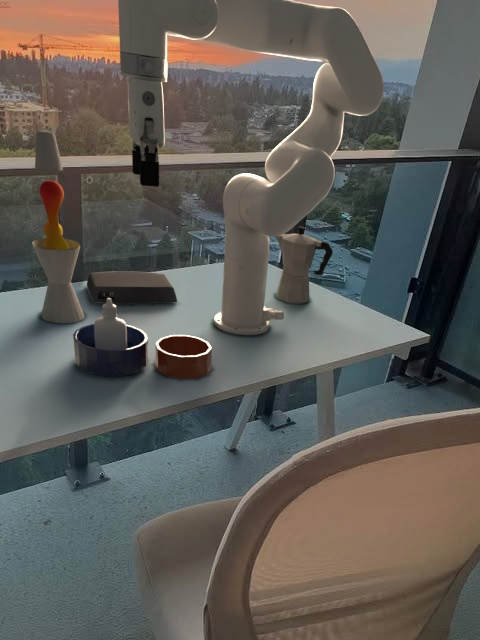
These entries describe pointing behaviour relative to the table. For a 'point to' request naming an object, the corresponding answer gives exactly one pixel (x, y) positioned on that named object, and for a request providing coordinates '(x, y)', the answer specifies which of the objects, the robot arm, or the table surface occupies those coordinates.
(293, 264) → the coffeepot
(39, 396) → the table surface
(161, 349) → the brown round container
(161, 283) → the hard drive
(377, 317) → the table surface
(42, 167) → the lava lamp
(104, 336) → the eye dropper bottle
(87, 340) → the bowl
